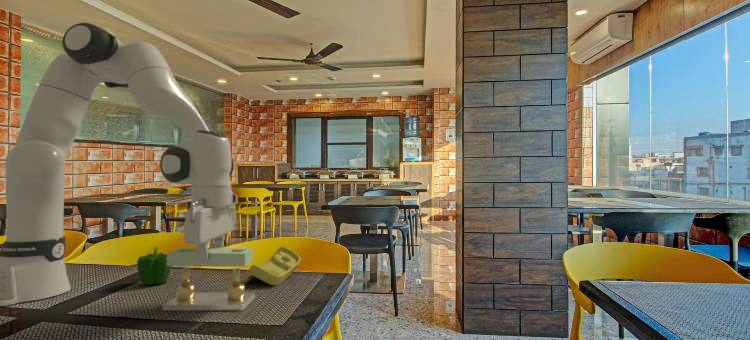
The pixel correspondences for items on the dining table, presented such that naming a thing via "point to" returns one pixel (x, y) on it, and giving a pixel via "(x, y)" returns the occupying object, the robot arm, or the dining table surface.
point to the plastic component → (275, 267)
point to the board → (211, 257)
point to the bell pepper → (153, 268)
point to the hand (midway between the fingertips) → (211, 256)
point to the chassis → (209, 296)
